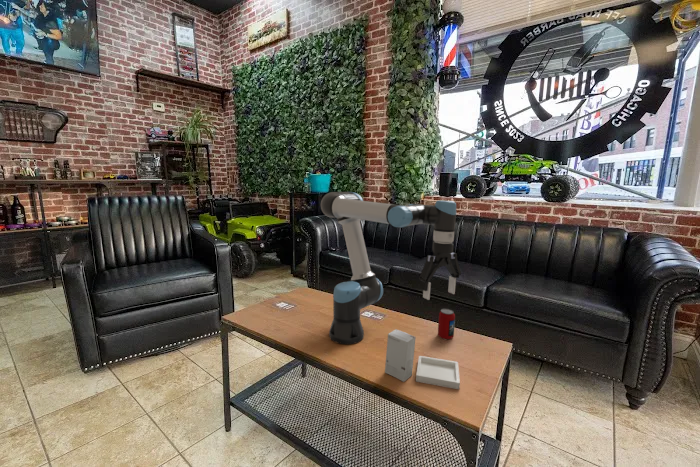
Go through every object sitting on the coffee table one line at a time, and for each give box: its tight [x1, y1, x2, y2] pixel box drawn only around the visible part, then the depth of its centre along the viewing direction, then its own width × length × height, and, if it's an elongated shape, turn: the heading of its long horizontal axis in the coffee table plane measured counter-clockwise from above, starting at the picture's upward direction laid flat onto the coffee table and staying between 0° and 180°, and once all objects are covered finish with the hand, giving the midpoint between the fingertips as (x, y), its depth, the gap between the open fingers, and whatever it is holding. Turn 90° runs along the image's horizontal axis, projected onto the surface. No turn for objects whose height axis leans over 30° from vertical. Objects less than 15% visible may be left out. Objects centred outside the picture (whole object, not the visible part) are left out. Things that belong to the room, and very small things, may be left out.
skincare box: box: [384, 329, 416, 383], centre depth 108 cm, size 8×6×15 cm
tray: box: [415, 355, 461, 390], centre depth 109 cm, size 14×13×2 cm
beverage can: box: [437, 308, 456, 340], centre depth 136 cm, size 7×7×12 cm
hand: (439, 295), depth 120 cm, fingers open, 13 cm apart
